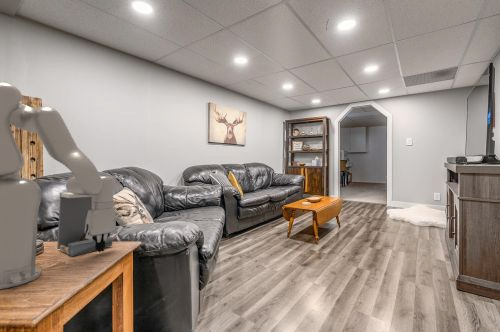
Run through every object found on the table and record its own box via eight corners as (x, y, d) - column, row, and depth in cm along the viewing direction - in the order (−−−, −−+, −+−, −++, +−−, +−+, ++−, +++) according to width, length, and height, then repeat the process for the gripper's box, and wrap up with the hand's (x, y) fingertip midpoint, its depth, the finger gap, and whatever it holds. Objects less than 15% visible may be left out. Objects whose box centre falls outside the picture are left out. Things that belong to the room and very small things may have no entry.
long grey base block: (111, 246, 102) (112, 237, 102) (72, 256, 89) (72, 245, 90) (98, 241, 109) (98, 232, 109) (59, 250, 96) (60, 240, 96)
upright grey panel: (106, 245, 105) (108, 192, 106) (66, 254, 92) (69, 194, 93) (95, 241, 110) (97, 191, 111) (57, 249, 97) (60, 193, 98)
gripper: (116, 203, 101) (114, 244, 101) (76, 207, 89) (74, 254, 88) (125, 204, 97) (123, 247, 97) (85, 208, 85) (83, 258, 84)
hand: (100, 250), depth 92 cm, fingers closed
